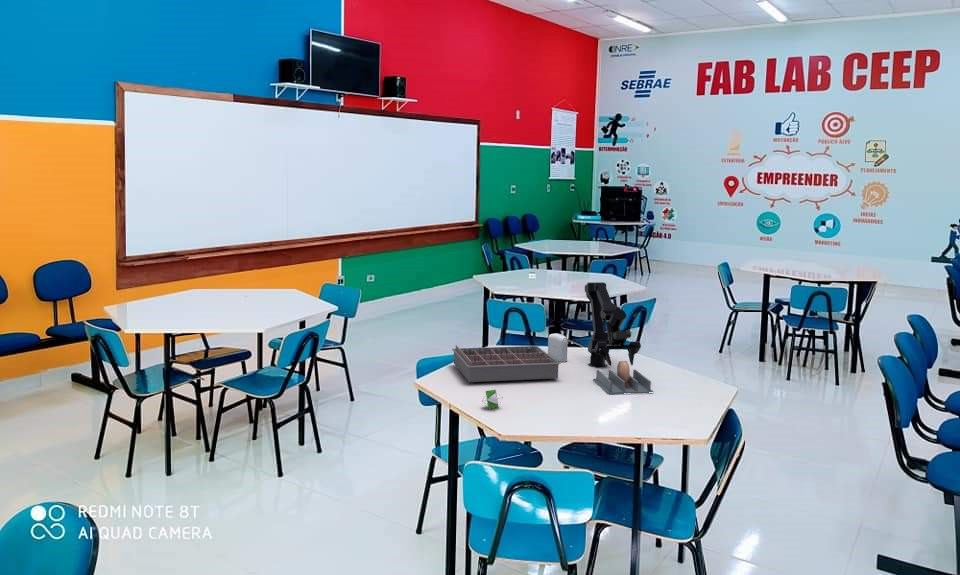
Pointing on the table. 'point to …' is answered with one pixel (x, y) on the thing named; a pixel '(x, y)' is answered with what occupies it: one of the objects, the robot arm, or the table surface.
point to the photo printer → (558, 347)
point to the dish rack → (623, 383)
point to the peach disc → (623, 371)
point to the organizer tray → (505, 363)
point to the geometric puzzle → (492, 398)
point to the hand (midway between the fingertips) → (621, 365)
